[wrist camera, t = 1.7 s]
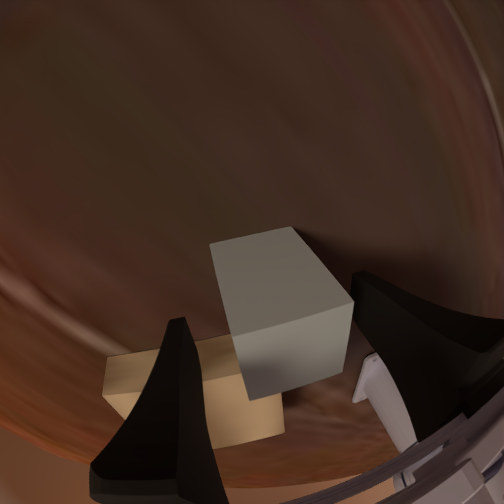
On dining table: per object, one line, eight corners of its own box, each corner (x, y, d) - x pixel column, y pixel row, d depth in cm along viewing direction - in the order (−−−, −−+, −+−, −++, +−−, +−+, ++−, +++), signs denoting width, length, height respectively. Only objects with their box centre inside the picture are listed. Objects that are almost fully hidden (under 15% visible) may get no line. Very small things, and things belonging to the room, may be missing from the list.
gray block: (290, 226, 14) (354, 301, 9) (294, 290, 16) (342, 372, 11) (209, 244, 13) (231, 336, 8) (224, 308, 15) (249, 401, 10)
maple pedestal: (263, 325, 16) (278, 363, 14) (274, 403, 21) (284, 432, 19) (107, 357, 15) (102, 395, 12) (162, 425, 20) (164, 455, 18)
